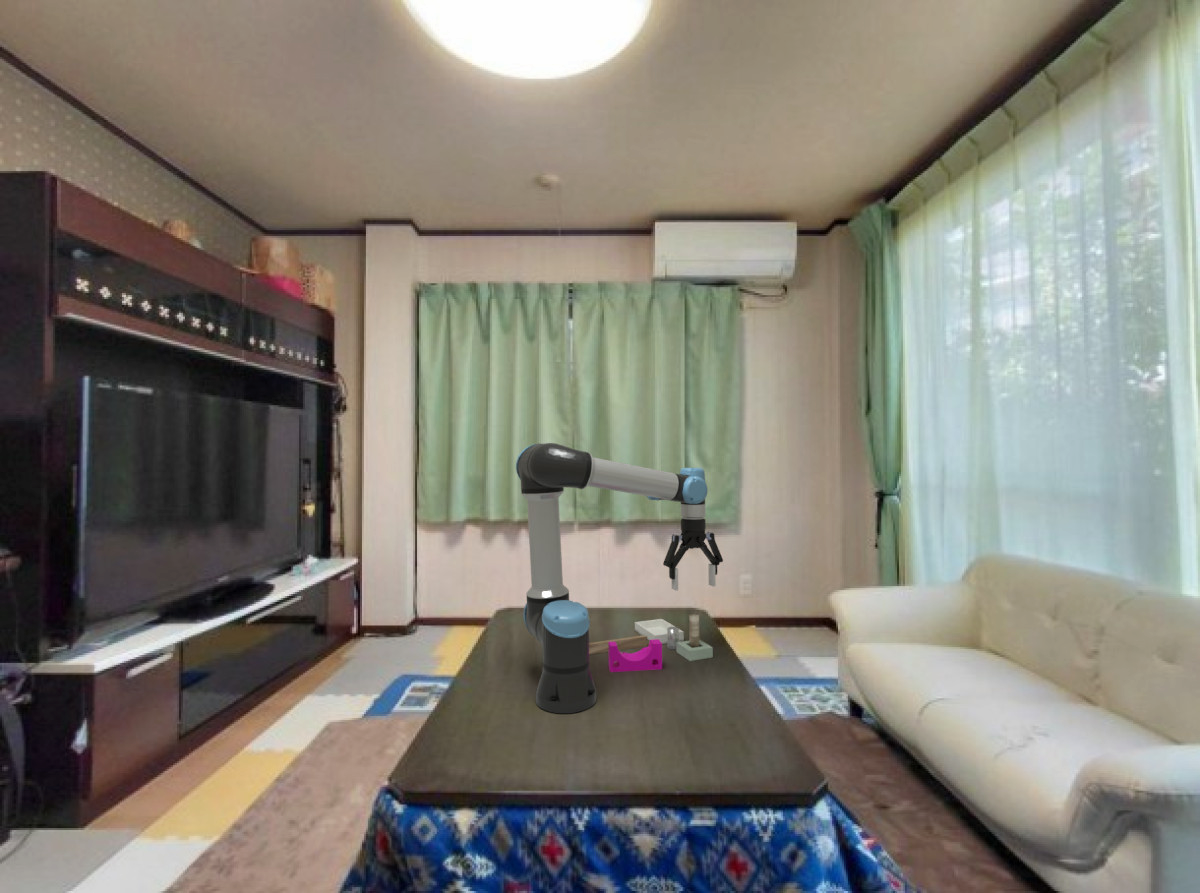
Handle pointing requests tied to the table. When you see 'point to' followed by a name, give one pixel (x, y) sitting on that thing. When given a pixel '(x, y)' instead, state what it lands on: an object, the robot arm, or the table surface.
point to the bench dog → (672, 637)
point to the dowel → (693, 630)
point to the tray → (656, 630)
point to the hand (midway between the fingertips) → (693, 587)
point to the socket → (694, 650)
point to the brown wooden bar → (618, 644)
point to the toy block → (635, 658)
